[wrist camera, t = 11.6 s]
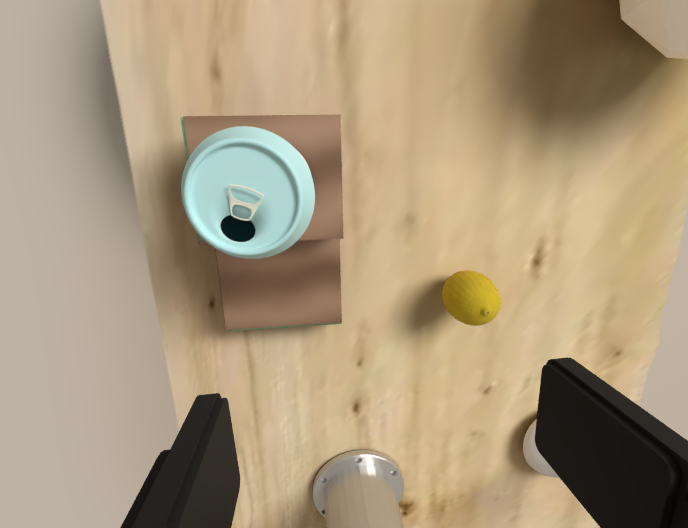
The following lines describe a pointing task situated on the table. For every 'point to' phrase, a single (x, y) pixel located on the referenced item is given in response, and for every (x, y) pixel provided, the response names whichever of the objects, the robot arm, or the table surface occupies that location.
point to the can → (248, 192)
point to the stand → (306, 253)
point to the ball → (659, 24)
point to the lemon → (471, 298)
